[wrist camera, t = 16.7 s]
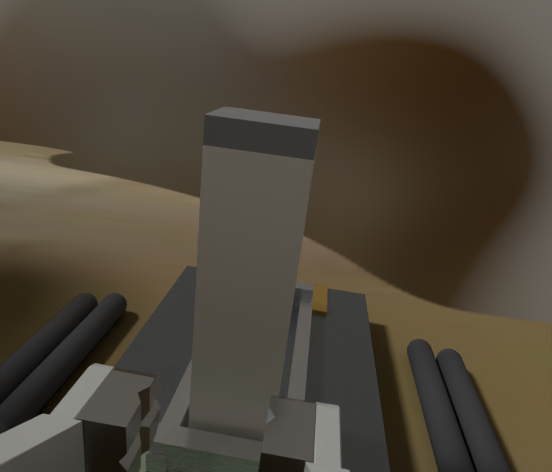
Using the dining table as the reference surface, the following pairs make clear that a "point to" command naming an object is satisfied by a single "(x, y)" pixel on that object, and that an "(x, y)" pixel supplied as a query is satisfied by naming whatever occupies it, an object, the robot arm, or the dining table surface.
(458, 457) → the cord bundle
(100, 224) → the dining table surface
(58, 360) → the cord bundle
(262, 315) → the knob
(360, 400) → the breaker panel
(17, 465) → the robot arm
